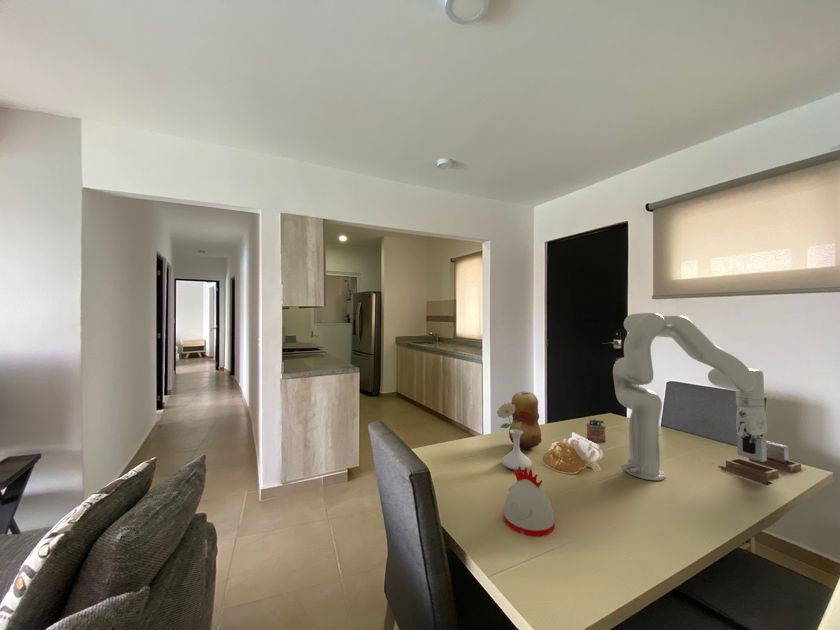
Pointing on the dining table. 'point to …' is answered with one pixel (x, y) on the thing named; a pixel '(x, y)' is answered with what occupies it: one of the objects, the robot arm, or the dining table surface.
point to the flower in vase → (515, 456)
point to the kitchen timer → (528, 506)
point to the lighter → (596, 430)
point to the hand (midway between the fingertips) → (751, 451)
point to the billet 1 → (758, 446)
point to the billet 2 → (777, 452)
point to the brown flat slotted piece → (760, 469)
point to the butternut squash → (526, 419)
